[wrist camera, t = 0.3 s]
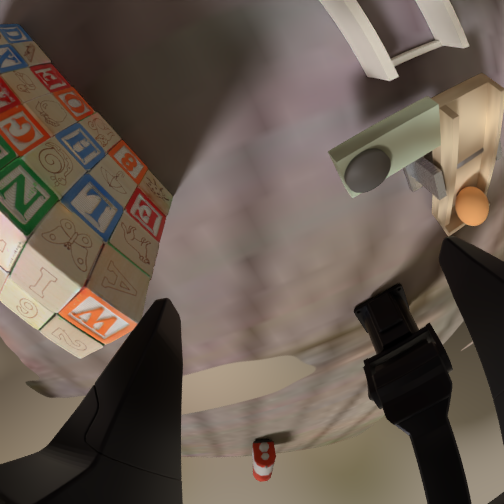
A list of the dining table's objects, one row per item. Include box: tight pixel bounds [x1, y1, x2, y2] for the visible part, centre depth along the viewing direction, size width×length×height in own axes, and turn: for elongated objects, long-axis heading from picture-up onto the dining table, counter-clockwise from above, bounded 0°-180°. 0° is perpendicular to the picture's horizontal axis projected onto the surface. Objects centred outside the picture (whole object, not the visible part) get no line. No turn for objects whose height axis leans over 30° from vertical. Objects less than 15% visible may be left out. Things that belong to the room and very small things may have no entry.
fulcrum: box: [403, 139, 502, 200], centre depth 17 cm, size 5×9×4 cm, turn 125°
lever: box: [328, 73, 504, 237], centre depth 17 cm, size 14×14×3 cm
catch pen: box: [319, 0, 469, 81], centre depth 11 cm, size 8×9×3 cm
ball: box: [455, 186, 489, 226], centre depth 19 cm, size 4×4×4 cm
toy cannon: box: [252, 439, 276, 481], centre depth 68 cm, size 6×20×14 cm, turn 178°
